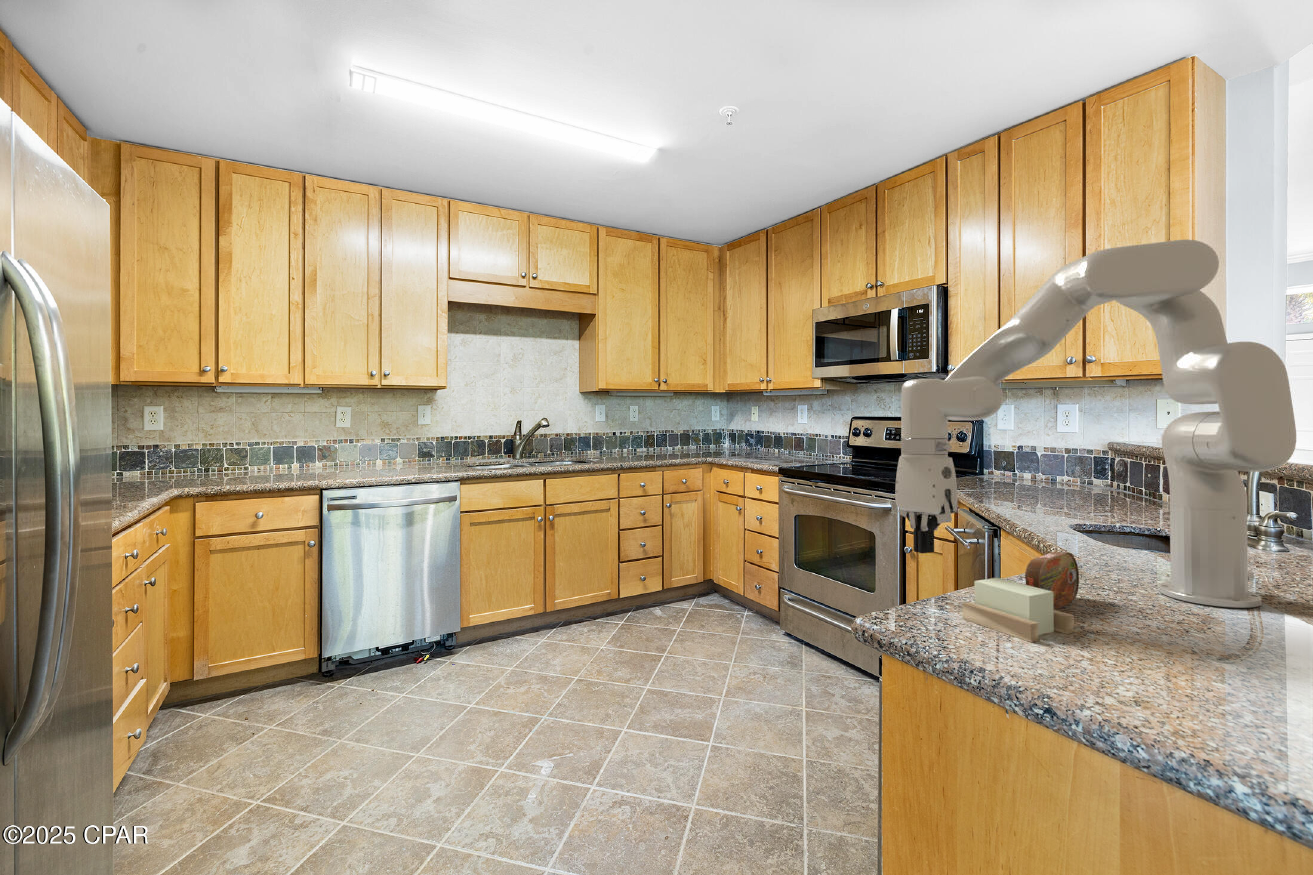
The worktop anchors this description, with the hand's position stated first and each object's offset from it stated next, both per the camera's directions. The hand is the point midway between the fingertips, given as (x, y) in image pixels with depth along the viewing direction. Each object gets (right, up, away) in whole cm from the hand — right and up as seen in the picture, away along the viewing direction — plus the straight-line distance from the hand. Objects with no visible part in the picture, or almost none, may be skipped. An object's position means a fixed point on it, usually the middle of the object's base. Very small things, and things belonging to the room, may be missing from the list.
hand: (923, 551), depth 102 cm
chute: (+7, -8, -15) cm, 19 cm away
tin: (+19, -8, -5) cm, 21 cm away
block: (+7, -8, -15) cm, 18 cm away
